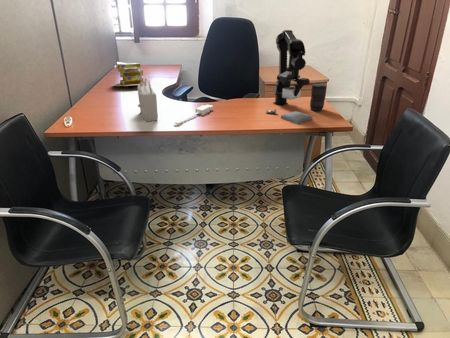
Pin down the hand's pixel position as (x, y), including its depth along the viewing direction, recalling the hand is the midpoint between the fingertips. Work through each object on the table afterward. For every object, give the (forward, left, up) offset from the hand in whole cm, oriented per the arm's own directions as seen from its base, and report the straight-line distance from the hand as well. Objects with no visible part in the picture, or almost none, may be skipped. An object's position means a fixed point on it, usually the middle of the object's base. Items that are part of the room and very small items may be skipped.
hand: (291, 95), depth 190 cm
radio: (-48, -63, -12) cm, 80 cm away
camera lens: (+3, +20, -12) cm, 23 cm away
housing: (0, 0, -1) cm, 1 cm away
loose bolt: (-9, -6, -12) cm, 16 cm away
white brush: (-31, -43, -12) cm, 55 cm away
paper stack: (-113, -42, -12) cm, 121 cm away
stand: (+6, -1, -12) cm, 13 cm away
